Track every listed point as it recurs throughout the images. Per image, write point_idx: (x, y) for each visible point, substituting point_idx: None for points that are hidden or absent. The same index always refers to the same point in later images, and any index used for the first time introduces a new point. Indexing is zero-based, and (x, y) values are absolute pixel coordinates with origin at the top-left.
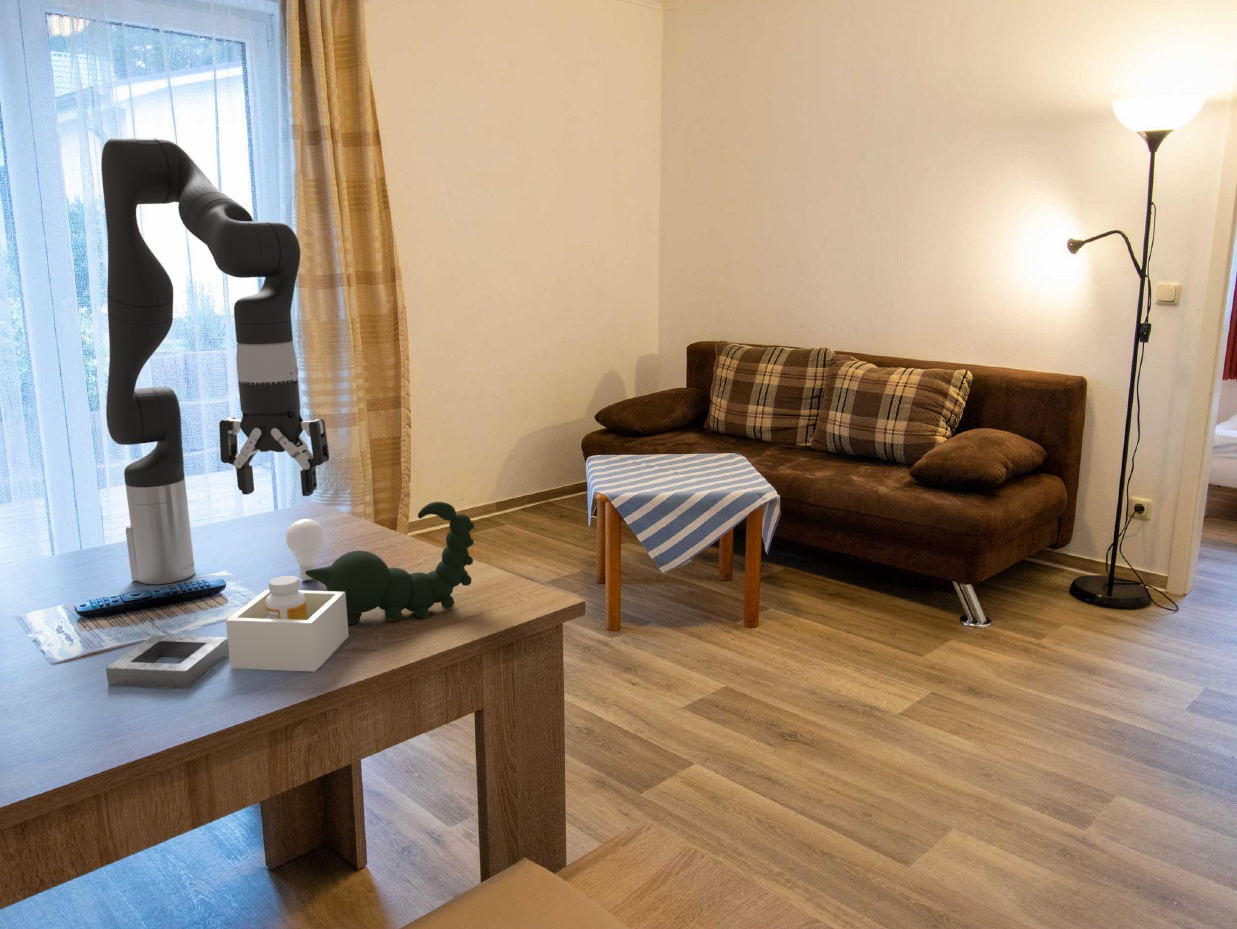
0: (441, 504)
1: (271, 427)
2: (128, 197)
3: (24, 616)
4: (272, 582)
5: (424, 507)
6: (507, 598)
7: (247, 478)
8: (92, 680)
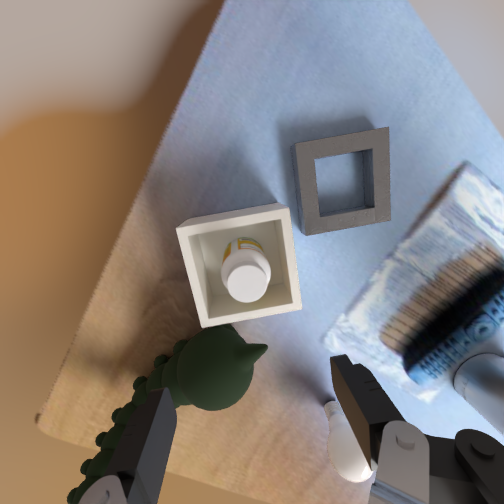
0: None
1: None
2: None
3: None
4: (257, 272)
5: None
6: (109, 419)
7: (350, 401)
8: (401, 138)
